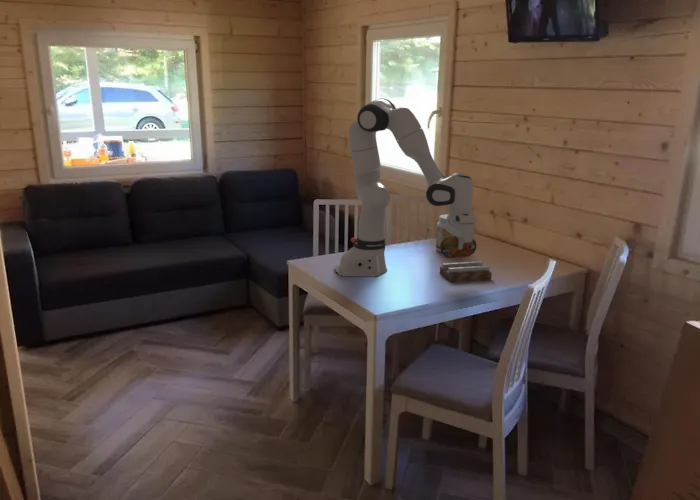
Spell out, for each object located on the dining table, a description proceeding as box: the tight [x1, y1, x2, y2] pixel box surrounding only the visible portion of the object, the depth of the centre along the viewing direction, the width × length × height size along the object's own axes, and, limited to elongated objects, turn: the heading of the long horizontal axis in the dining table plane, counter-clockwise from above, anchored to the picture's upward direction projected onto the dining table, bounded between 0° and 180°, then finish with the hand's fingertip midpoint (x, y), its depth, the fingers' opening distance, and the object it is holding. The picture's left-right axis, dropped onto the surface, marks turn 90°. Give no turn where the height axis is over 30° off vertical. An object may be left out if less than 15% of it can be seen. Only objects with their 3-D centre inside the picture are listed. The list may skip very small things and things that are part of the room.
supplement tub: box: [435, 213, 453, 253], centre depth 288 cm, size 12×12×17 cm
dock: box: [439, 260, 492, 283], centre depth 253 cm, size 18×12×5 cm, turn 103°
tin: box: [440, 237, 478, 259], centre depth 243 cm, size 15×3×8 cm, turn 102°
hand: (457, 247), depth 243 cm, fingers closed on tin, 2 cm apart
